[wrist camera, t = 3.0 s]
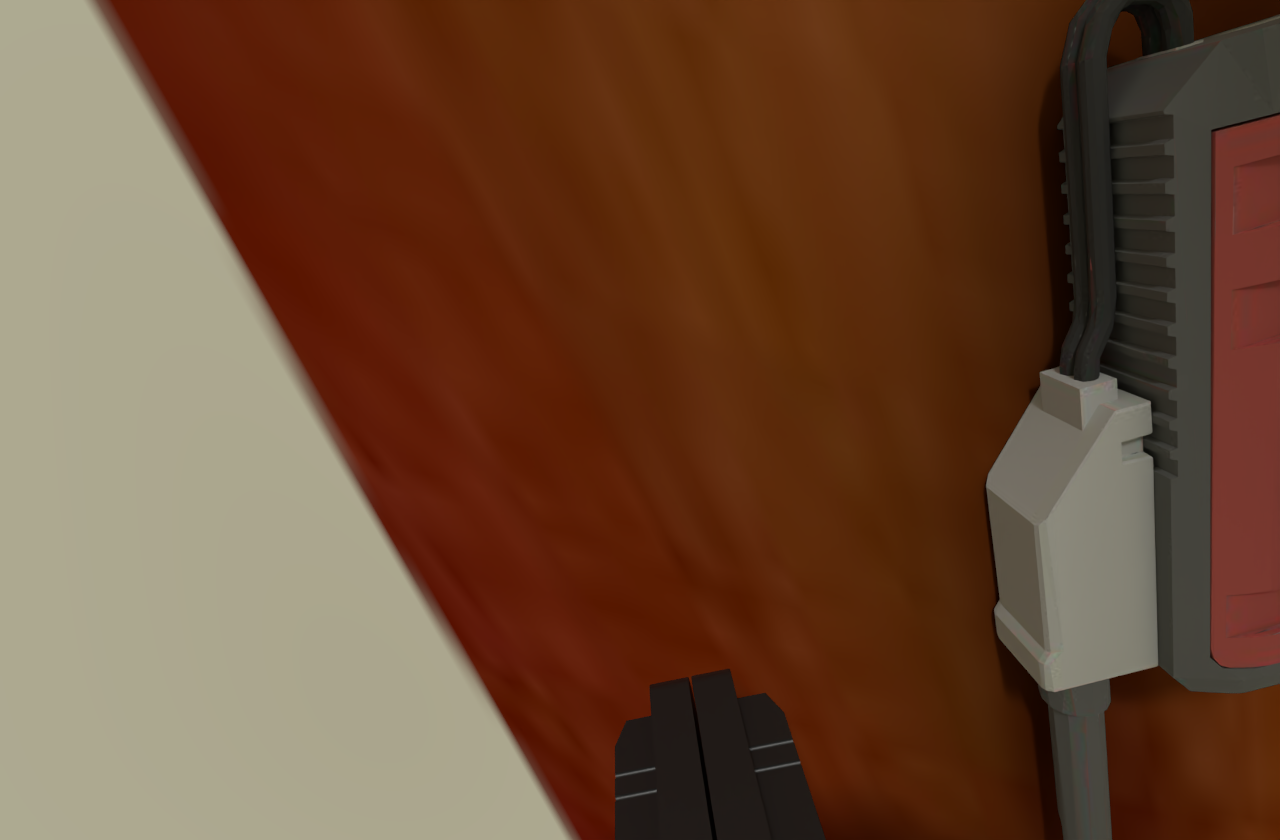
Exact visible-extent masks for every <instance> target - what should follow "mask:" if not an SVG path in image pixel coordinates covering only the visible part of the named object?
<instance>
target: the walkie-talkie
mask: <svg viewBox="0 0 1280 840" xmlns="http://www.w3.org/2000/svg"><path fill="white" fill-rule="evenodd" d="M1121 11H1127V12H1129V13H1131V14H1133V15H1134V17H1135V19H1136V21H1137V24H1138V26H1139V28H1140V31H1141V38H1142V52H1143V56H1142V57H1139V58H1136V59H1134V60H1131V61H1128V62H1125V63H1122V64H1118V65H1115V66H1112V67H1109V68H1107V52H1108V47H1109V42H1110V37H1111V32H1112V28H1113V26H1114V24H1115V22H1116V20H1117V18H1118V16H1119V14H1120V12H1121ZM1060 78H1061V94H1062V109H1063V118H1062V119H1061V121H1060V122H1059V124H1058V125H1057V129H1058V130H1063V138H1064V150H1062V151H1061V152H1059V161H1060V162H1063V163H1065V169H1066V182H1064V183H1063V184H1061V190H1062V194H1067V199H1068V213H1066V214H1065V215H1063V220H1064V224H1066V225H1069V230H1070V242H1069V243H1068V244H1067V245H1065V249H1066V254H1070V255H1071V261H1072V271H1071V272H1070V273H1069V274H1067V279H1068V283H1072V284H1073V292H1074V300H1072V301H1071V302H1069V309H1070V311H1073V319H1072V324H1071V326H1070V329H1069V331H1068V333H1067V335H1066V338H1065V340H1064V342H1063V345H1062V348H1061V357H1060V367H1056V368H1053V369H1049V370H1046V371H1042V372H1040V383H1041V385H1040V387H1039V389H1038V390H1037V392H1036V394H1035V395H1034V397H1033V399H1032V401H1031V402H1030V404H1029V406H1028V407H1027V409H1026V411H1025V412H1024V414H1023V416H1022V418H1021V419H1020V421H1019V423H1018V424H1017V426H1016V428H1015V429H1014V431H1013V433H1012V434H1011V436H1010V438H1009V440H1008V441H1007V443H1006V445H1005V446H1004V448H1003V450H1002V451H1001V453H1000V455H999V456H998V458H997V460H996V462H995V463H994V465H993V467H992V468H991V470H990V472H989V473H988V478H987V482H986V490H987V498H988V506H989V515H990V523H991V531H992V539H993V548H994V556H995V564H996V572H997V580H998V589H999V597H1000V600H999V601H998V603H997V605H996V607H995V608H994V614H995V621H996V629H997V635H998V637H999V639H1000V640H1001V641H1002V642H1003V643H1004V645H1005V646H1006V647H1007V648H1008V649H1009V650H1010V652H1011V653H1012V654H1013V655H1014V656H1015V657H1016V659H1017V660H1018V661H1019V662H1020V663H1021V664H1022V666H1023V667H1024V668H1025V669H1026V670H1027V671H1028V673H1029V674H1030V675H1031V676H1032V677H1033V678H1034V679H1035V681H1036V682H1037V683H1038V689H1039V692H1040V695H1041V697H1042V699H1043V700H1044V701H1045V702H1046V703H1047V704H1048V711H1049V722H1050V732H1051V743H1052V753H1053V764H1054V774H1055V785H1056V795H1057V806H1058V813H1059V816H1060V820H1061V824H1062V831H1063V840H1112V832H1111V815H1110V799H1109V783H1108V766H1107V750H1106V734H1105V717H1104V711H1105V710H1107V708H1108V706H1109V704H1110V702H1111V696H1110V681H1109V678H1113V677H1117V676H1121V675H1125V674H1129V673H1133V672H1137V671H1141V670H1145V669H1149V668H1153V667H1157V666H1158V665H1159V666H1160V667H1162V668H1163V669H1164V670H1165V671H1166V672H1167V673H1168V674H1170V675H1171V676H1172V677H1173V678H1174V679H1176V680H1177V681H1178V682H1179V683H1181V684H1182V685H1183V686H1185V687H1186V688H1187V689H1188V690H1190V691H1198V692H1215V693H1245V692H1249V691H1253V690H1257V689H1261V688H1265V687H1269V686H1273V685H1277V684H1280V14H1279V15H1276V16H1273V17H1270V18H1266V19H1263V20H1260V21H1257V22H1253V23H1250V24H1247V25H1244V26H1241V27H1237V28H1234V29H1231V30H1228V31H1225V32H1221V33H1218V34H1215V35H1212V36H1208V37H1205V38H1202V39H1199V40H1196V41H1194V28H1193V11H1192V8H1191V5H1190V2H1189V0H1086V1H1085V2H1084V4H1083V5H1082V6H1081V8H1080V9H1079V11H1078V12H1077V13H1076V15H1075V16H1074V18H1073V19H1072V20H1071V22H1070V23H1069V28H1068V32H1067V37H1066V41H1065V46H1064V51H1063V55H1062V60H1061V65H1060Z"/></svg>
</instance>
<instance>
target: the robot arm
mask: <svg viewBox="0 0 1280 840" xmlns="http://www.w3.org/2000/svg"><path fill="white" fill-rule="evenodd" d="M692 684H693V691H694V697H695V702H694V698H693V693H692V689H691V685H690V681H689V678H688V677H686V678H681V679H676V680H671V681H666V682H661V683H656V684H652V685H650V702H651V716H649V717H644V718H639V719H634V720H629V721H626V723H625V725H624V728H623V730H622V732H621V734H620V737H619V739H618V741H617V743H616V746H615V775H616V779H615V797H616V802H615V840H826V839H825V836H824V833H823V830H822V827H821V824H820V821H819V818H818V815H817V812H816V809H815V806H814V803H813V800H812V796H811V793H810V790H809V787H808V784H807V781H806V778H805V775H804V772H803V769H802V766H801V764H800V760H799V757H798V754H797V751H796V748H795V745H794V743H793V739H792V736H791V733H790V730H789V727H788V723H787V720H786V717H785V714H784V712H783V711H782V710H781V709H780V708H779V707H778V706H777V705H776V704H775V703H774V702H773V701H772V700H771V699H770V698H769V696H768V695H767V694H766V693H762V694H757V695H752V696H747V697H742V698H737V696H736V692H735V688H734V684H733V680H732V676H731V672H730V669H725V670H720V671H715V672H710V673H705V674H700V675H695V676H692ZM695 703H696V706H695Z"/></svg>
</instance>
